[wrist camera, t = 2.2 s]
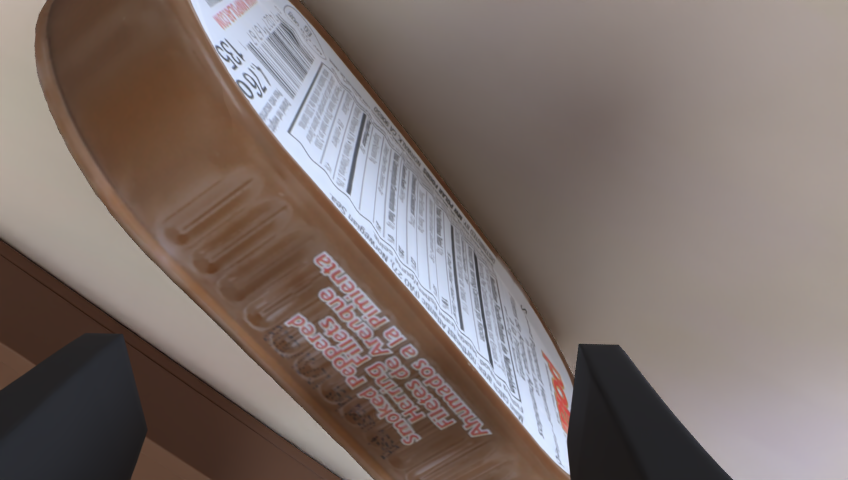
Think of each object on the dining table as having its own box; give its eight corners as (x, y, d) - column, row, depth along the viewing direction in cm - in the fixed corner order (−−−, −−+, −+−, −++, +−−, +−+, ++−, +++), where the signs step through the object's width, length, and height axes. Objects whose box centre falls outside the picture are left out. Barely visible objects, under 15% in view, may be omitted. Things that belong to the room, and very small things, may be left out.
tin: (141, -37, 17) (-112, 68, 9) (241, -127, 16) (46, -91, 8) (501, 385, 22) (520, 659, 15) (592, 339, 21) (661, 608, 14)
